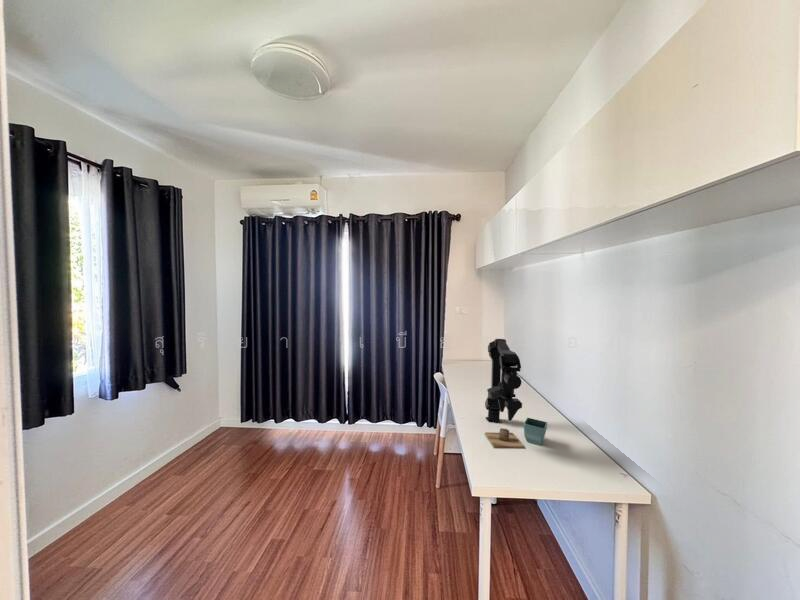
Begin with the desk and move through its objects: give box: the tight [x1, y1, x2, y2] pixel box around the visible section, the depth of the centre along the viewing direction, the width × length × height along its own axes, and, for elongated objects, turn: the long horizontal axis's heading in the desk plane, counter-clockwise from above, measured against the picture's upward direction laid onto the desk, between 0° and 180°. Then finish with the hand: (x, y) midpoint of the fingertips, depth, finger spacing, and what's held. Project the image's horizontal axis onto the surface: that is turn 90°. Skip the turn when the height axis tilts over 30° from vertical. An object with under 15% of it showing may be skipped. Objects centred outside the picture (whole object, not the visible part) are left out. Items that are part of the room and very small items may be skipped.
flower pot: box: [523, 417, 548, 446], centre depth 152 cm, size 9×9×9 cm
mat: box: [483, 433, 526, 450], centre depth 152 cm, size 14×14×1 cm
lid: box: [484, 428, 525, 448], centre depth 151 cm, size 13×13×5 cm
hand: (505, 416), depth 151 cm, fingers open, 9 cm apart
